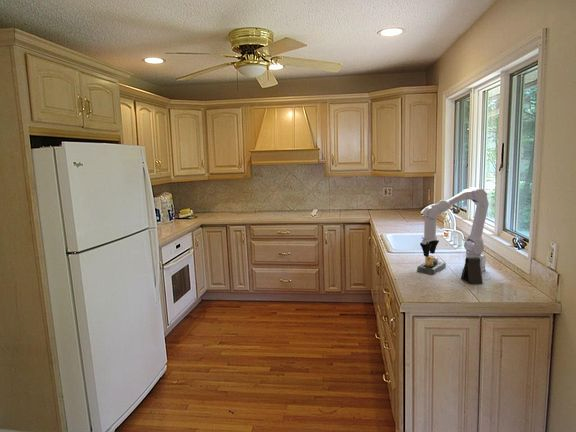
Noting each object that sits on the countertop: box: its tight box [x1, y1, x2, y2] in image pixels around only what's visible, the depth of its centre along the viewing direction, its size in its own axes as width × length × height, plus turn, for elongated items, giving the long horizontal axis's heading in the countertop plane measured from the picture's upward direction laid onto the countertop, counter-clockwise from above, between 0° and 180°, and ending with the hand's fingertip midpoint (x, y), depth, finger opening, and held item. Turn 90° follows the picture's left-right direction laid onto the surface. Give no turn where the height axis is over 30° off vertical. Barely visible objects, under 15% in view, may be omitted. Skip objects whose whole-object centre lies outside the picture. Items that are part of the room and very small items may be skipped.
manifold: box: [416, 256, 447, 275], centre depth 214 cm, size 9×16×6 cm, turn 137°
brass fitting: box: [424, 255, 434, 268], centre depth 211 cm, size 4×4×8 cm
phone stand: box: [460, 257, 484, 285], centre depth 193 cm, size 9×6×12 cm, turn 6°
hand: (429, 254), depth 210 cm, fingers open, 7 cm apart
